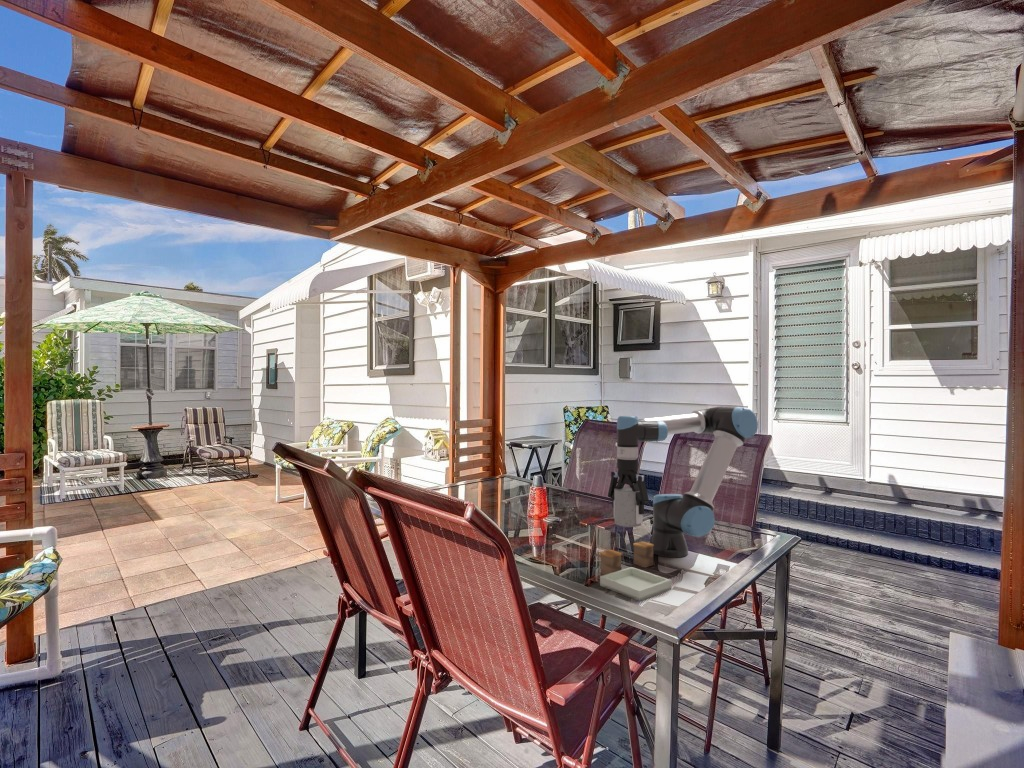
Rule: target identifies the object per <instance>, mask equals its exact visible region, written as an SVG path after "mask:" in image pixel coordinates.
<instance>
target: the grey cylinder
mask: <svg viewBox="0 0 1024 768" xmlns="http://www.w3.org/2000/svg"><path fill="white" fill-rule="evenodd" d="M637 492H640V491H637ZM614 500H615V518H614V525H616V526H620V527H625V528H626V527H627V528H636V527H641V526H642V523H640V524H636V505H637V504H638V503H637V501H636V492H633V491H632V488H631V487H630V486H628V487H627V486H624V487H623V488H621V489H616V488H615V489H614Z"/></svg>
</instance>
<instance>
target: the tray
mask: <svg viewBox="0 0 1024 768" xmlns="http://www.w3.org/2000/svg"><path fill="white" fill-rule="evenodd" d="M599 585H600V587H602V588H605V589H608V590H611V591H613V592H616V593H618V594H620V595H623V596H625V597H629V598H631V599H633V600H635V601H638V602H641V601H644V600H646V599H650V598H652V597H655V596H657V595H660V594H662V593H665V592H668V591H671V590H672V579H669V578H666V577H663V576H660V575H657V574H655V573H651V572H648V571H646V570H643V569H639V568H636V567H633V566H630V567H627V568H626V567H625V568H624V569H621V570H619V571H616V572H613V573H610V574H606V575H600V576H599Z"/></svg>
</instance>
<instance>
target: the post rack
mask: <svg viewBox="0 0 1024 768" xmlns="http://www.w3.org/2000/svg"><path fill="white" fill-rule="evenodd" d="M632 544H633V565H636V566H638V567H642V568H648V567H651V566H654V554H653V546H654V544H651V543H650V542H647V541H643V540H641V541H638V542H637V541H636V542H634V543H632ZM599 553H600V574H601V576H603V575H606V574H610V573H613V572H616V571H619V570H622V556H623V555H622V554H623V553H622V552H620V551H617V550H614V549H607V550H604V551H603V550H602V551H600V552H599Z"/></svg>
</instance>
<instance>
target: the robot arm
mask: <svg viewBox="0 0 1024 768" xmlns="http://www.w3.org/2000/svg"><path fill="white" fill-rule="evenodd" d="M758 428H759V422H758V420H757V416H756V414H755V413H754V411H752V409H750V408H748V407H742V406H715V407H710V408H709V407H708V408H704V409H700V410H699V409H697V410H693V411H692V412H691V413H685V414H683V413H682V414H676V415H674V414H673V415H666V416H655V417H654V416H653V417H646V418H639V417H638V416H636V415H619V416H618V417H617V421H616V446H617V447H616V456H617V459H616V468H617V471H614V470H613V471H611V472H610V476H611V478H610V483H609V488H608V492H607V497H608V498H610V499H611V501H612V502H611V504H612V506H611V507H612V509H613V519H615V500H614V489H615V488H616V489H621V488H623V487H625V485H628V487H631V488H632V491H633V492H636V501H637V503H638V504H637V505H636V524H640V523H641V524H643V521H644V520H643V519H644V517H643V515H644V514H645V505H648V504H650V500H649V494H648V492H647V486H646V476H645V475H644V474H643V475H640V474H639V473H638V470H639V459H638V458H639V443H641V442H663V441H665V440H667V438H668V435H677V434H686V433H687V434H688V433H693V432H694V433H695V434H709V435H710V434H711V435H714V440H713V441H712V444H711V446H710V449H709V450H708V452H707V455H706V457H705V458H704V461H703V463H702V465H701V468H700V470H699V472H698V473H697V475H696V478H695V481H694V482H693V484H692V487H691V489H690V491H686V492H684V494H680V493H679V494H678V493H663V494H662V493H661V494H655V495H654V496H653V498H652V499H653V500H652V515H653V516H652V521H653V523H652V524H653V525H652V526H653V528H652V529H653V530H652V534H651V537H650V540H649V543H651V544H654V546H653V555H656V556H660V557H664V558H665V557H667V558H682V557H686V556H688V555H689V547H688V545H687V540H686V538H685V535H684V534H686V535H688V536H693V537H696V538H697V537H698V538H699V537H703V536H706V535H708V534H709V533H710V532H711V531H712V529H713V528H714V526H715V523H716V519H715V514H714V512H713V511H714V509H715V506H714V504H713V500H714V498H715V496H716V494H717V492H718V490H719V487H720V486H721V484H722V481H723V480H724V477H725V474H726V472H727V470H728V468H729V466H730V464H731V461H732V459H733V457H734V455H735V453H736V450H737V449H738V448H739V447H743V446H744V444H745V441H746V440H747V439H749V438H753V436H755V435H756V434H757V432H758V431H757V430H758ZM637 491H640V492H637Z"/></svg>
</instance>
